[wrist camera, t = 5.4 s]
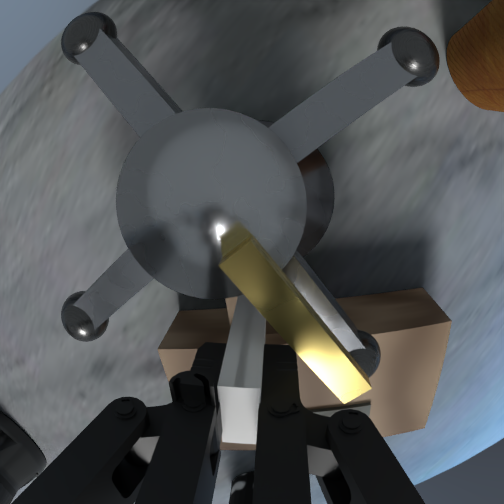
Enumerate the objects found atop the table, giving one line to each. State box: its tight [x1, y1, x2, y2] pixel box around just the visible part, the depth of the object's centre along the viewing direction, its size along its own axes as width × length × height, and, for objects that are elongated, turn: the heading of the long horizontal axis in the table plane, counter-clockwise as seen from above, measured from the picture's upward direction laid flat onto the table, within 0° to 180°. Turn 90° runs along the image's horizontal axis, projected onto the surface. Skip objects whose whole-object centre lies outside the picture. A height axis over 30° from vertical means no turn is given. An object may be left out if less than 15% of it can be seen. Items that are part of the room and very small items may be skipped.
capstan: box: [61, 12, 439, 404], centre depth 14 cm, size 22×22×11 cm
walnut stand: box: [158, 288, 452, 450], centre depth 20 cm, size 18×16×6 cm
